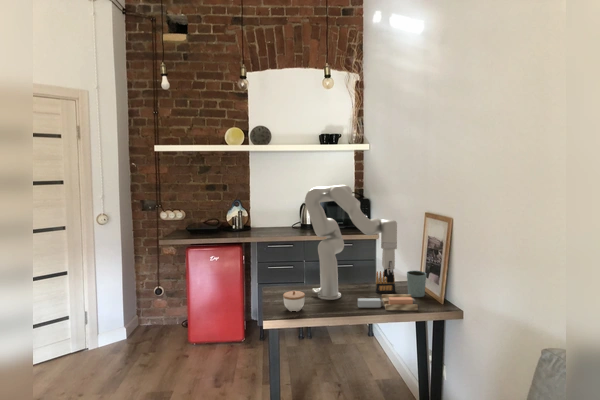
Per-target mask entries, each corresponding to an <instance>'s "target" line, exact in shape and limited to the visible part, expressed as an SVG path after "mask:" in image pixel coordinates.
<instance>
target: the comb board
mask: <svg viewBox="0 0 600 400" xmlns="http://www.w3.org/2000/svg"><path fill="white" fill-rule="evenodd" d="M389 297H411V298H412V299H414V297H412V296H411V294H408V293H407V294H404V293H403V294H393V293H392V294H388V293H386V294H381V300H383V307H384V308H385V311H419V309H418V307H419V305H418V303H417V304H416V303H415V304H389Z"/></svg>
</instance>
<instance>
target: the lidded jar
mask: <svg viewBox="0 0 600 400" xmlns="http://www.w3.org/2000/svg"><path fill="white" fill-rule="evenodd" d="M305 296H306V294H305V292H303V291H300V290H290V291H286V292H284V293H283V295H282V297H283V304H284V307H285V308H286V309H287V310H288V311H289V312H292V311H296V312H300V311H301V309H302V308H303V307H304V305H305V300H306V299H305Z"/></svg>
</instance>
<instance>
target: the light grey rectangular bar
mask: <svg viewBox="0 0 600 400" xmlns="http://www.w3.org/2000/svg"><path fill="white" fill-rule="evenodd" d="M357 307H358V308H381V307H384V304H383V300H382V299H381V298H380V297H379V298H375V297H374V298H373V297H372V298H371V297H369V298H365V297H364V298H363V297H362V298H361V297H359V298H358V297H357Z"/></svg>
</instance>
